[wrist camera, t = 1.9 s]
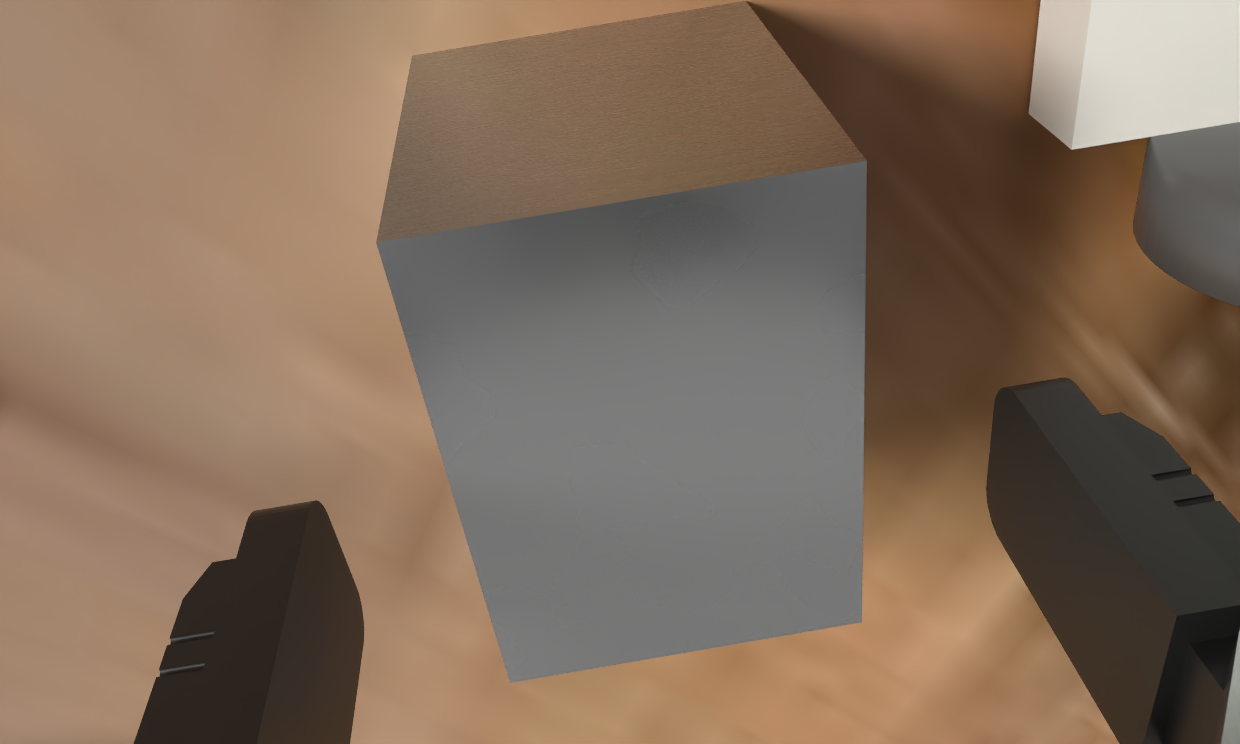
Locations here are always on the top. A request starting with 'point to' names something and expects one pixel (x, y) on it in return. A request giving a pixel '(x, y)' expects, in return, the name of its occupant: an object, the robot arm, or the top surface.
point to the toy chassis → (1156, 118)
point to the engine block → (637, 333)
